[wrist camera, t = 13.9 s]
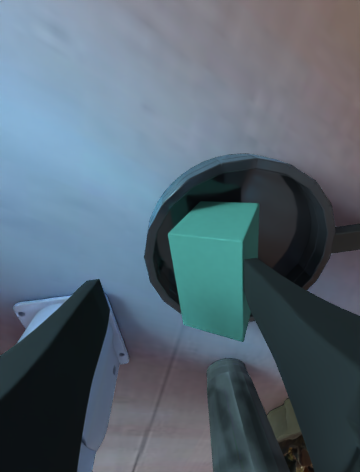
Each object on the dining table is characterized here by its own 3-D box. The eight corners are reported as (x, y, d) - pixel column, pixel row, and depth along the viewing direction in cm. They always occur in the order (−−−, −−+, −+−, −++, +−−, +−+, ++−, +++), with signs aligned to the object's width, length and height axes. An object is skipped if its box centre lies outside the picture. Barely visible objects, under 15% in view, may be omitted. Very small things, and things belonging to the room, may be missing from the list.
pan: (303, 292, 21) (319, 312, 19) (162, 311, 21) (162, 334, 19) (326, 140, 15) (354, 143, 13) (130, 168, 15) (124, 177, 13)
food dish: (338, 482, 47) (366, 545, 40) (194, 461, 40) (199, 533, 33) (513, 397, 32) (605, 475, 25) (334, 339, 25) (394, 424, 18)
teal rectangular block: (256, 288, 18) (243, 342, 14) (207, 279, 19) (183, 325, 15) (259, 202, 14) (243, 241, 10) (200, 200, 16) (167, 233, 12)
